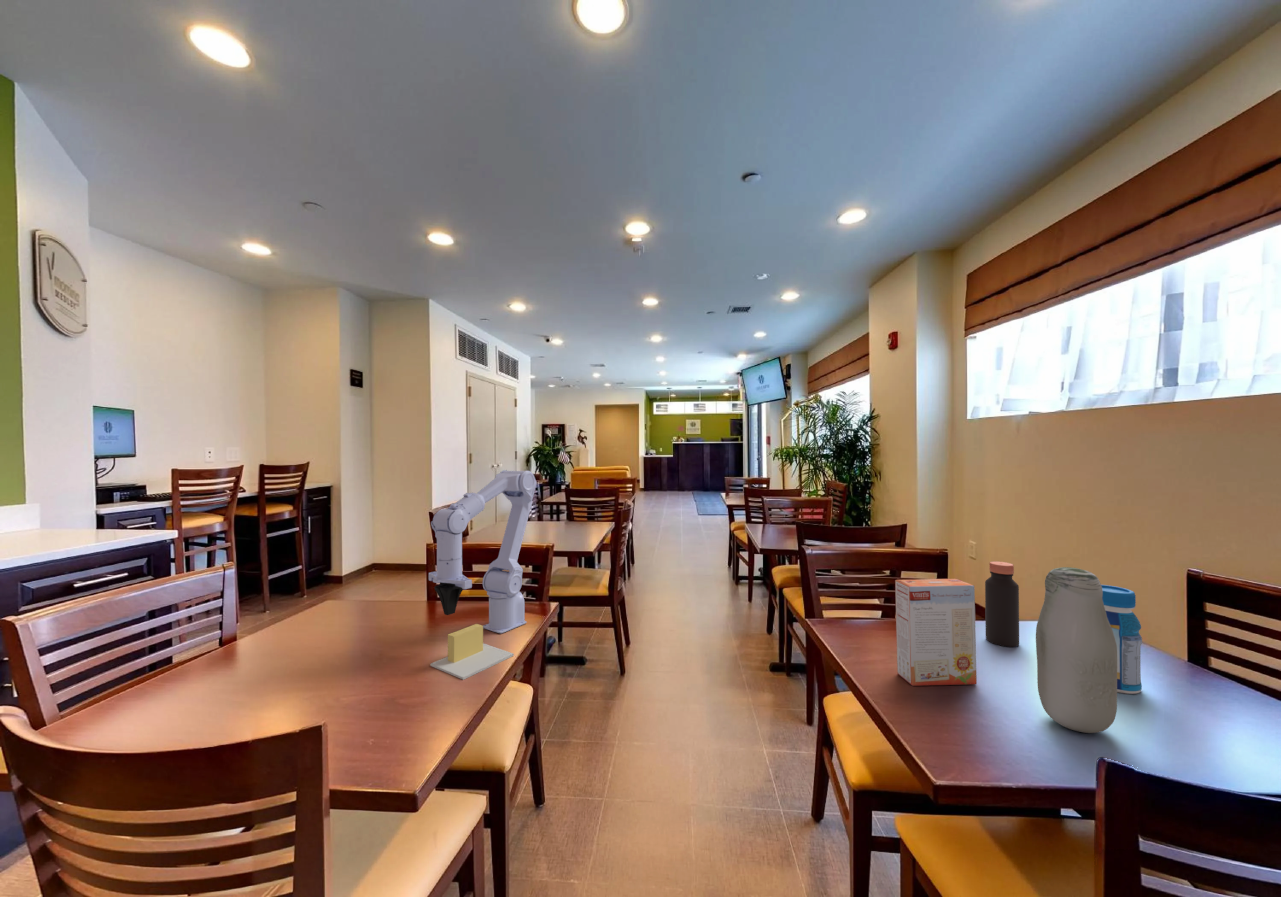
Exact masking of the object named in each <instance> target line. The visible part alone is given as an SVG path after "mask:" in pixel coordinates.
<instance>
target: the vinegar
mask: <svg viewBox="0 0 1281 897" xmlns="http://www.w3.org/2000/svg"><path fill="white" fill-rule="evenodd" d="M988 564H989V573H990V576H989V577H988V578H987V579H986V580H985V582H984V596H985V597H984V598H985V600H984V602H985V603H984V607H985V610H984V612H985V614H984V615H985V622H984V624H985V639H986V640H987V641H988V642H990V643H991V644H994V645H997V646H1002V647H1005V648H1006V647H1009V648H1016V647H1018V646H1019V645H1020V591H1019V590H1020V586H1019V584H1018V583H1017V582H1016V581H1015V580H1014V579H1013V576H1014V574H1015V565H1014V564H1013V563H1010V562H1006V561H990V562H989V563H988Z"/></svg>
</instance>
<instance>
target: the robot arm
mask: <svg viewBox="0 0 1281 897" xmlns="http://www.w3.org/2000/svg"><path fill="white" fill-rule="evenodd" d="M537 484H538V482H537V480H536V477H535V475H534V473H533V472H532V471H530V470H507V469H506V470H505V469H504V470H502V471H500V472H499V473H497V474H495V477H494V479H492V480H491V481H490V482H489V483H488V484H486V485H485V486H484V487H483V488H481V489H480V490H479V491H478V492H465V493H464V494H463V495H462V496H463V497H462V498H460V499H459V500H457V501H456V502H455V503H454V502H452V503H451V504H450V505H449V507H448V508H441V509H440V510H438V511H437V512H436V513H435V514H434V515H433V518H432V521H431V522H430V524H431V529H432V530H433V531H434V534H435V535H434V536H435V538H436V571H431V572H428V581H430V582H432V583H436V584H438V585H435V586H434V588H433V589H434V591H435V593H436V594H437V595H438V597H439V600H440V603H441V607H442V610H443V614H444V615H445V616H450V615H453V614H455V612H456V609H457V605H458V602H459V600H460V596H461V594H462V592H463V590H467V589H472V587H473V579H472V578H471V579H470V578H468V577H467V576H465V575H464V574H463V532H464V531H465V530H466V529H467V526H468V524H469V522H470V521H472V519H473V518H475V517H477V516H478V515H479V514H480V513H481V512H483V511H484V509H485V506H486V503H488V502H490V501H491V500H493V499H494V498H496V497H497V496H499V495H500V494H503V496H505V498H506V499H507V500H508V501H509V502H510V504H511V508H510V512H509V514H508V518H507V524H506V526H505V531H504V534H503V537H502V542H501V545H500V549H499V552H498V556H497V558H496V559H494V560H493V561H492V562H491V563H489V564H488V565H489V566H488V569H487V570H486V572H485V573H484V576H483V578H482V587H483V590H484V591H485V592H486V595H487V596H488V623H486V624H484V625H482V626H483V630H488V631H492V632H493V633H498V634H504V633H505V632H510V631H511V630H513V629H516V628H518V627H520V626H523V625H525V624H527V623H528V622H527V621H526V620H525V607H526V605H525V599H524V598H525V597H524V595H523V594H522V592H521V591H520V590H521V588H522V585H523V571H524V569H523V567H522V566H521V565H520V564H519V562H518V559H519V554H520V551H521V548H522V543H523V540H524V535H525V532H526V528H527V524H528V520H529V517H530V514H531V509H532V505H533V504H532V503H533V498H534V495H535V490H536V487H537Z"/></svg>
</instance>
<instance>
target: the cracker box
mask: <svg viewBox="0 0 1281 897" xmlns="http://www.w3.org/2000/svg"><path fill="white" fill-rule="evenodd" d="M894 584H895V585H894V586H895V592H894V593H895V622H896V623H895V630H896V635H895V636H896V669H897V670H896V673H897V674H898V676H900V677H901V678H902V679H904V680H905V681H906V682H907V683H908V684H910V685H911V686H913V687H915V686H919V687H921V686H950V685H951V686H954V685H955V686H957V685H958V686H959V685H977V675H978V674H977V643H976V642H977V641H976V640H977V636H976V605H975V604H976V600H975V599H976V598H975V596H976V595H975V585H974V584H971V583H969V582H966V581H963V580H961V579H958V578H929V579H928V578H925V579H924V578H921V579H895V580H894Z"/></svg>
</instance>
